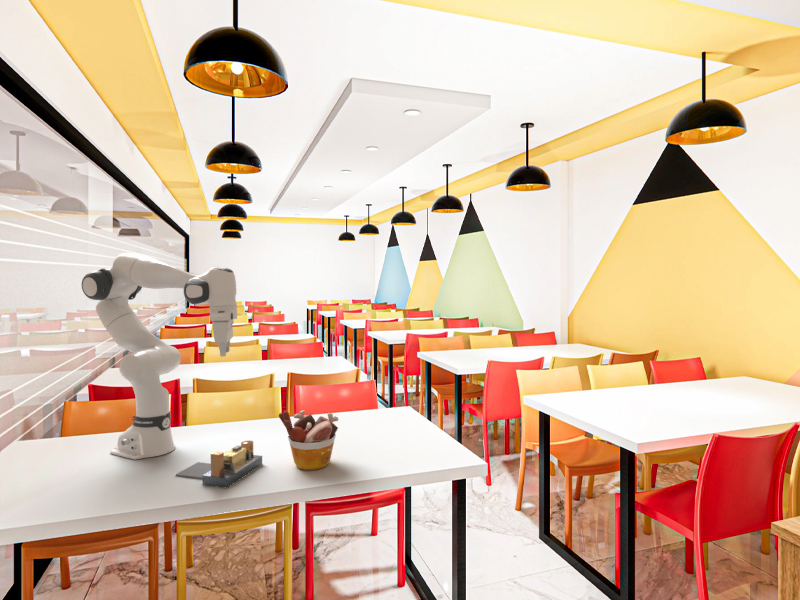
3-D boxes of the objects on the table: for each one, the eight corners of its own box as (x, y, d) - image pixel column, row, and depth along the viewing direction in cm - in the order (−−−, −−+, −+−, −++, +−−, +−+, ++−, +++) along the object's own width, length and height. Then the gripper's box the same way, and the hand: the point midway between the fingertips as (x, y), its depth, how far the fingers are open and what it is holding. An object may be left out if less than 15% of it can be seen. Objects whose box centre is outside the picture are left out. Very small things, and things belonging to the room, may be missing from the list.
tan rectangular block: (232, 468, 158) (232, 453, 158) (220, 467, 159) (219, 452, 159) (246, 459, 166) (246, 445, 165) (234, 458, 167) (234, 444, 167)
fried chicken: (332, 453, 182) (332, 399, 181) (345, 469, 167) (344, 411, 166) (277, 461, 174) (276, 405, 173) (285, 478, 159) (284, 417, 158)
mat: (175, 476, 161) (175, 474, 161) (198, 463, 172) (197, 462, 172) (204, 479, 158) (204, 477, 158) (225, 467, 169) (225, 465, 169)
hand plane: (227, 488, 152) (226, 456, 151) (202, 484, 154) (201, 453, 154) (262, 464, 171) (261, 436, 171) (239, 461, 173) (239, 433, 173)
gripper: (218, 312, 178) (219, 350, 179) (209, 316, 159) (210, 359, 159) (236, 312, 180) (237, 349, 180) (229, 315, 160) (231, 358, 160)
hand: (225, 354), depth 170 cm, fingers open, 8 cm apart
